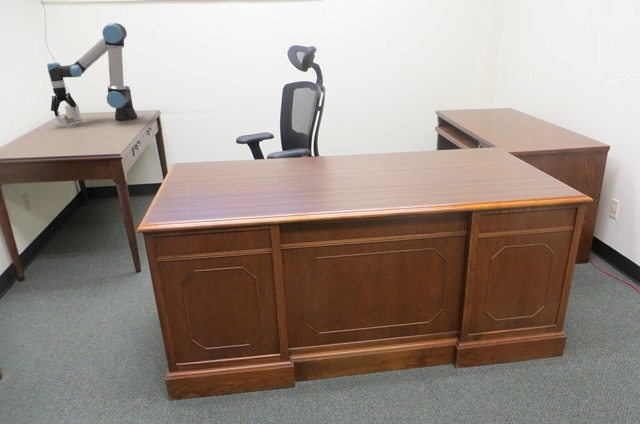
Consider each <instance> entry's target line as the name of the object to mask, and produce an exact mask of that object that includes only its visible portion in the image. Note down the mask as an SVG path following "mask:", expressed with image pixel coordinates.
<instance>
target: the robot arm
mask: <svg viewBox="0 0 640 424" xmlns="http://www.w3.org/2000/svg"><path fill="white" fill-rule="evenodd" d="M127 34H128V33H127V30H126V28H125V27H124V26H123V25H122V24H120V23H117V22H116V23H108V24H106V25H105V26H104V27H103V29H102V38H101V39H100V40H98V42H97V43H96V44H95V45H93V46H92V47H91V48H90V49H88V51H87V52H86V53H85V54H83V55H82V56H81V57H80V58H79V59H78V60H76V61H75V62H74V63H73V64H69V65H61V64H60V63H59V62H50V63H48V64H46V65H47V66H46V67H47V72H48V75H49V78H50V82H51V86H52V90H53V93H54V95H51V103H50V104H51V106H50V111H51V112H53V113H54V117H55V118H56V121H57V122H58V121H61V118H62V117H61V116H60V111H59V108H60V104H61V103H62V102H65V103H67V105H70V106H71V107H70V109H71V114H72V117H76V114H75V107H76V104H77V103H76V101H75V100H74V99H73V97H72V96H71V95H72V94H71V93H70V92H67V88H66V84H65V78H79V77H82V75H83V74H84V73H86V72H85V71H86V70H87V69H88V68H90V67H91V66H92V65H93V64H94V63H96V62H97V61H98V60H99V59H100V58H101V57H103V55H105V54H106V53H107V56H108V58H107V59H108V71H109V72H108V73H109V76H108V77H109V85H108V86H107V95H106V102H107V104H108V105H109V106H110V107H111V108H114V109H115V112H114V114H115V115H114V119H115V120H116V121H131V120H132V121H133V120H136V119H138V114H137V111H135V108H134V105H133V99H132V93H131V88H130V86H128V85H125V84H124V67H123V65H124V63H123V48H124V47H125V39H126V37H127Z"/></svg>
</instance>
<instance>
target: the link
mask: <svg viewBox="0 0 640 424" xmlns="http://www.w3.org/2000/svg"><path fill="white" fill-rule="evenodd" d="M60 118H61V121H57V124H70V123H73V122H76V121H74V118H68V119H65V118H64V117H60Z"/></svg>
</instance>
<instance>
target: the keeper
mask: <svg viewBox="0 0 640 424" xmlns="http://www.w3.org/2000/svg"><path fill="white" fill-rule="evenodd" d="M63 118H65V119H68V117H67V114H65V115H63ZM75 125H79V123H78V121H75V122H73V123H70V124H59V123H57V124H56V126H57V127H65V128H66V127H67V128H68V127H72V126H75Z"/></svg>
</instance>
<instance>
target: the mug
mask: <svg viewBox="0 0 640 424" xmlns="http://www.w3.org/2000/svg"><path fill="white" fill-rule="evenodd" d="M70 107H71V106H70V105H69V104H66V105H64V109H65V113H66V114H65V115H67V117H68V118H74V121H75V122H78V121H81V120H82V118H81V113H80V107H79V104H78V103H76V107H75V114H76V117H72V114H71V109H70Z"/></svg>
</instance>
